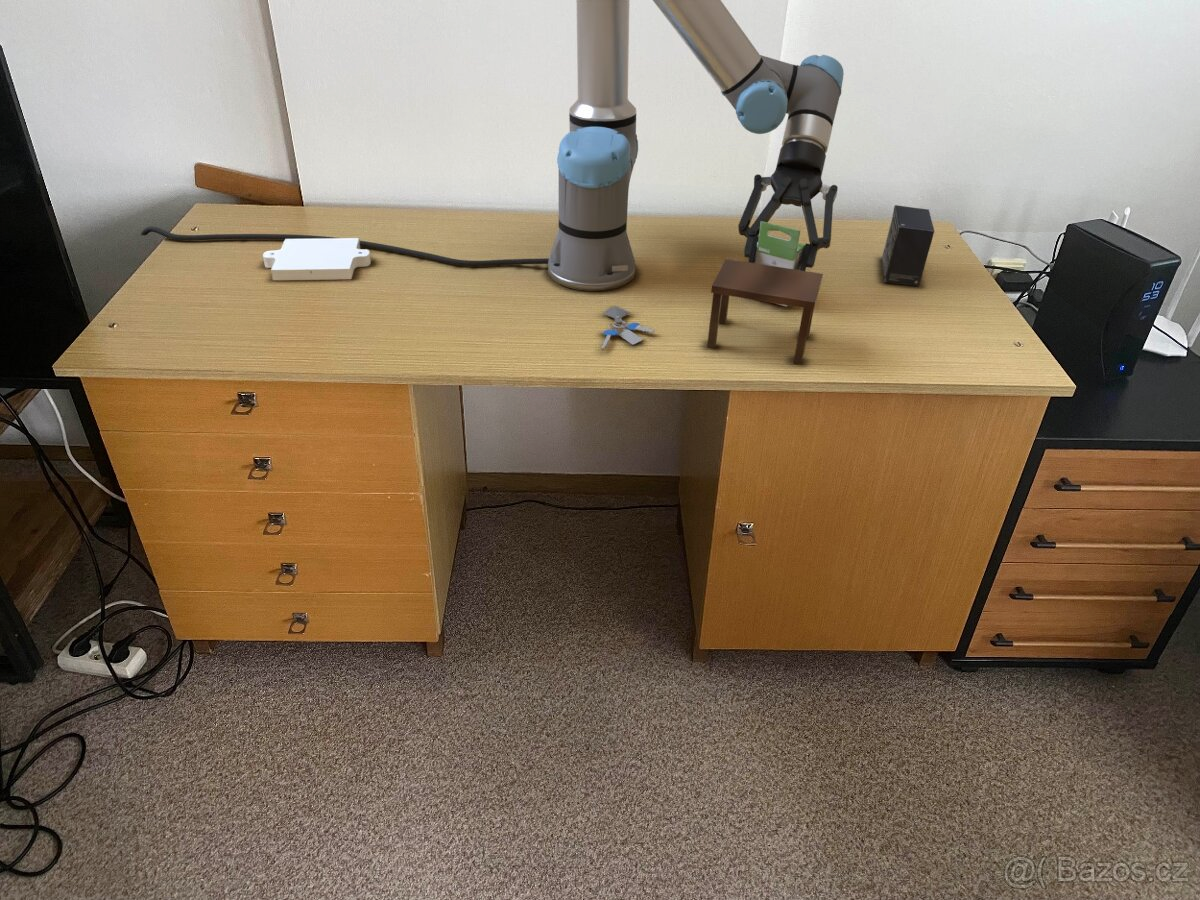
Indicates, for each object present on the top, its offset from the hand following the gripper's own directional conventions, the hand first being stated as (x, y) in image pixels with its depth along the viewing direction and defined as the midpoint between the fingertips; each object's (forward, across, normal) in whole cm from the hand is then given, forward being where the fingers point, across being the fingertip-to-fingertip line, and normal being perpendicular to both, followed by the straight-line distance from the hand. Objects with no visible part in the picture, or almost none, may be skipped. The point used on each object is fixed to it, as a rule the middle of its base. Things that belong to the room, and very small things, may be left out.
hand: (773, 280), depth 142 cm
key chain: (+15, +20, +7) cm, 25 cm away
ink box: (+1, 0, -6) cm, 6 cm away
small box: (-12, -20, -20) cm, 31 cm away
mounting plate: (+12, +78, +4) cm, 79 cm away
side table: (+12, 0, +4) cm, 12 cm away
